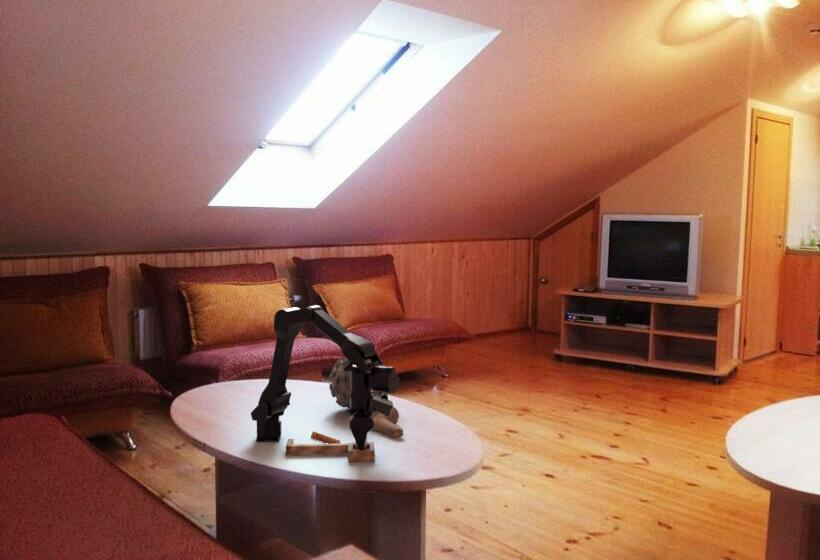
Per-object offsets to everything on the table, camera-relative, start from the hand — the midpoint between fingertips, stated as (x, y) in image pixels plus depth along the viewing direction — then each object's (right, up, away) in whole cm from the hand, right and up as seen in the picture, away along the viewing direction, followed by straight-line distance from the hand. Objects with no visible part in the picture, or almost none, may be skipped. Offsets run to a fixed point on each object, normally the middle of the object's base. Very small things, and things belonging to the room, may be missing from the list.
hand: (361, 444), depth 193 cm
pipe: (+8, -2, +24) cm, 26 cm away
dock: (-9, -3, +3) cm, 10 cm away
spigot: (0, -4, 0) cm, 4 cm away
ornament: (-4, +1, +45) cm, 45 cm away
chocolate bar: (-11, -3, +13) cm, 18 cm away
